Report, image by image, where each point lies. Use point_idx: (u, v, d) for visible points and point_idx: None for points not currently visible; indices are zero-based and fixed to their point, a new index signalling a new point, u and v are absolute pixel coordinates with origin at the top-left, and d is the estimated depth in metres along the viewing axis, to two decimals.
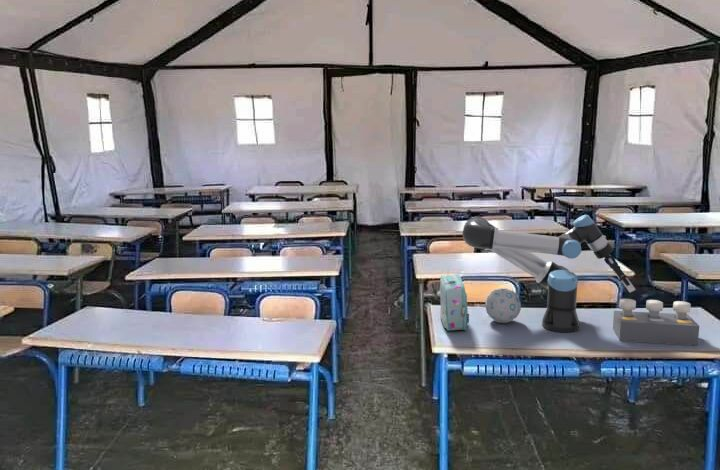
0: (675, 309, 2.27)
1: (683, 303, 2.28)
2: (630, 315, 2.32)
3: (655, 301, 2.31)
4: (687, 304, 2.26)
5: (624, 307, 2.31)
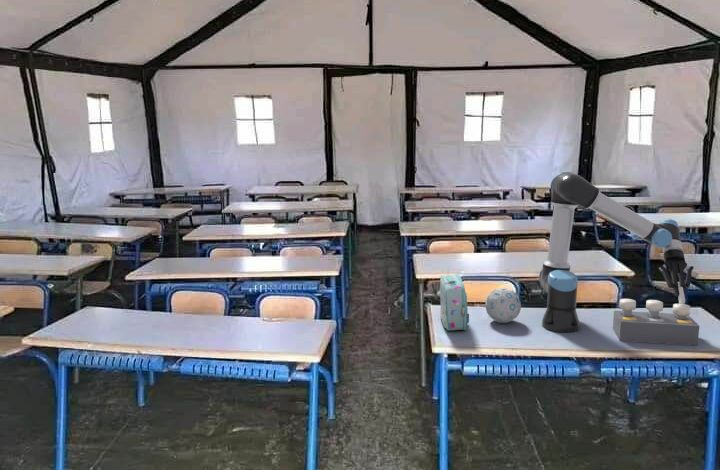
0: (675, 311, 2.28)
1: (683, 305, 2.28)
2: (630, 315, 2.32)
3: (655, 301, 2.31)
4: (687, 306, 2.26)
5: (624, 307, 2.31)
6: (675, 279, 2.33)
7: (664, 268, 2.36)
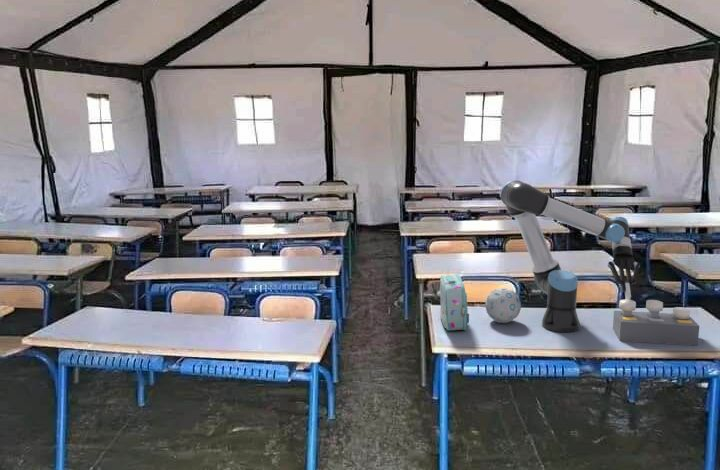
0: (674, 315, 2.28)
1: (682, 309, 2.28)
2: (630, 316, 2.32)
3: (655, 301, 2.31)
4: (686, 310, 2.27)
5: (624, 308, 2.31)
6: (622, 275, 2.38)
7: (612, 264, 2.41)
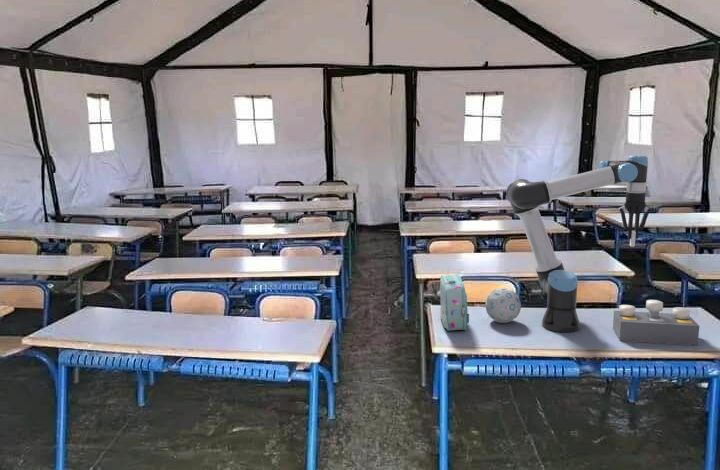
0: (674, 315, 2.28)
1: (682, 309, 2.28)
2: None
3: (655, 301, 2.31)
4: (686, 310, 2.27)
5: (624, 313, 2.31)
6: (630, 223, 2.46)
7: (623, 212, 2.46)
